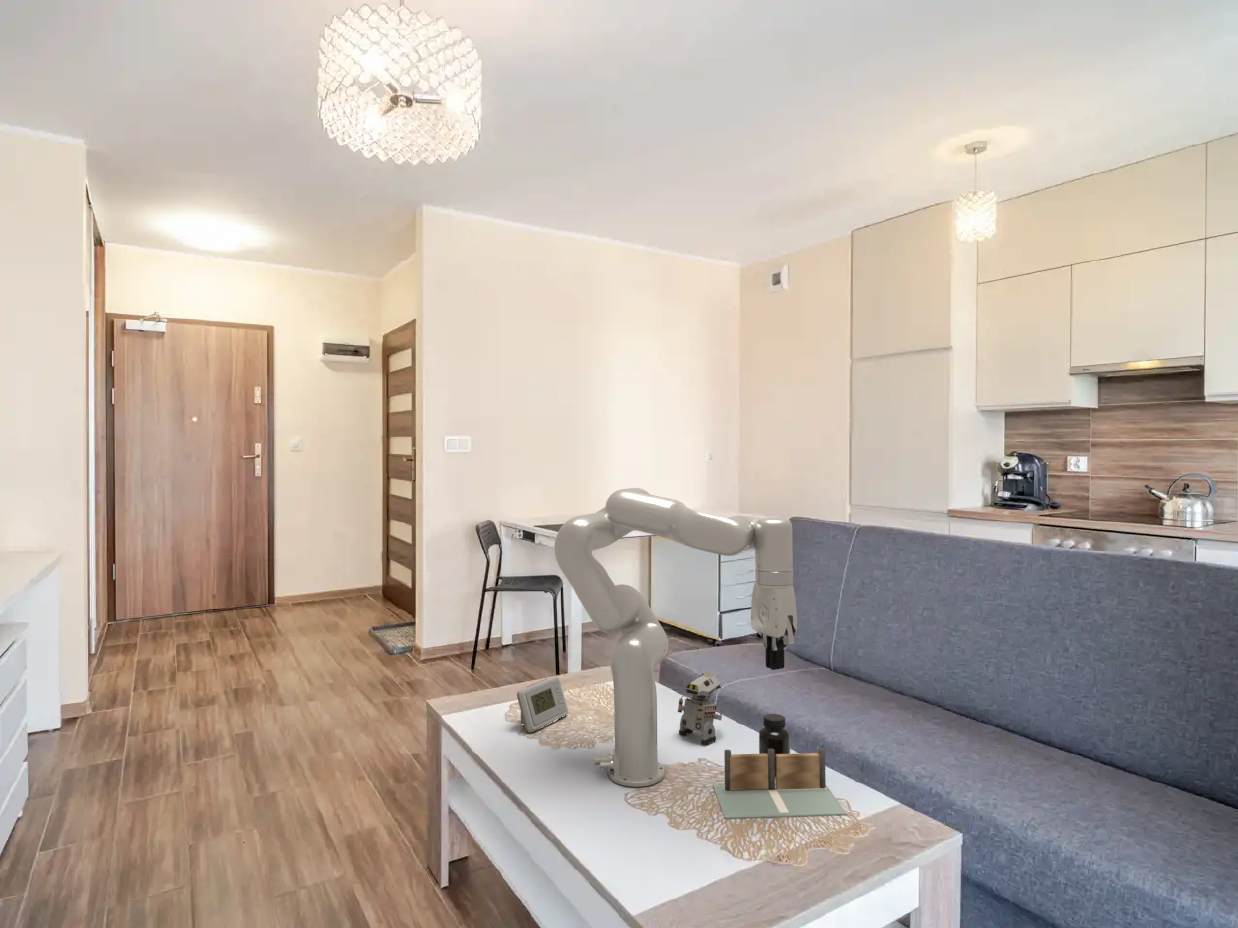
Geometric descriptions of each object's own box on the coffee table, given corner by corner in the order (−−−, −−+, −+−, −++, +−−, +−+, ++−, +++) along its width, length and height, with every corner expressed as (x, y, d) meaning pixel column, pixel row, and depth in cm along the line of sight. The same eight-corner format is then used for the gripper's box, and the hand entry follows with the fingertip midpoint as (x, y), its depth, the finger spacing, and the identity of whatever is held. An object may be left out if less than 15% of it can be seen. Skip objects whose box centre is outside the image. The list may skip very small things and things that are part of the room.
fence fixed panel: (777, 789, 145) (777, 751, 145) (775, 786, 146) (775, 749, 146) (826, 788, 145) (826, 750, 145) (824, 785, 147) (823, 747, 147)
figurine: (731, 735, 174) (731, 676, 174) (700, 748, 167) (699, 686, 167) (705, 725, 181) (704, 668, 181) (673, 737, 174) (673, 677, 174)
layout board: (724, 818, 134) (724, 817, 134) (713, 787, 147) (713, 785, 147) (846, 814, 135) (846, 813, 135) (824, 783, 148) (824, 782, 148)
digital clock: (528, 736, 176) (527, 694, 176) (507, 726, 182) (507, 686, 182) (576, 719, 187) (576, 679, 187) (555, 710, 194) (555, 672, 194)
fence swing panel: (725, 790, 144) (725, 752, 144) (724, 787, 146) (723, 749, 146) (775, 789, 145) (775, 751, 145) (773, 785, 146) (773, 748, 146)
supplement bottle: (791, 778, 151) (790, 723, 150) (759, 776, 152) (758, 721, 152) (789, 765, 157) (789, 712, 157) (759, 762, 159) (758, 710, 159)
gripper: (737, 574, 147) (738, 660, 147) (782, 585, 133) (783, 681, 133) (766, 571, 150) (767, 656, 150) (813, 582, 136) (814, 675, 136)
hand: (775, 667), depth 141 cm, fingers closed
